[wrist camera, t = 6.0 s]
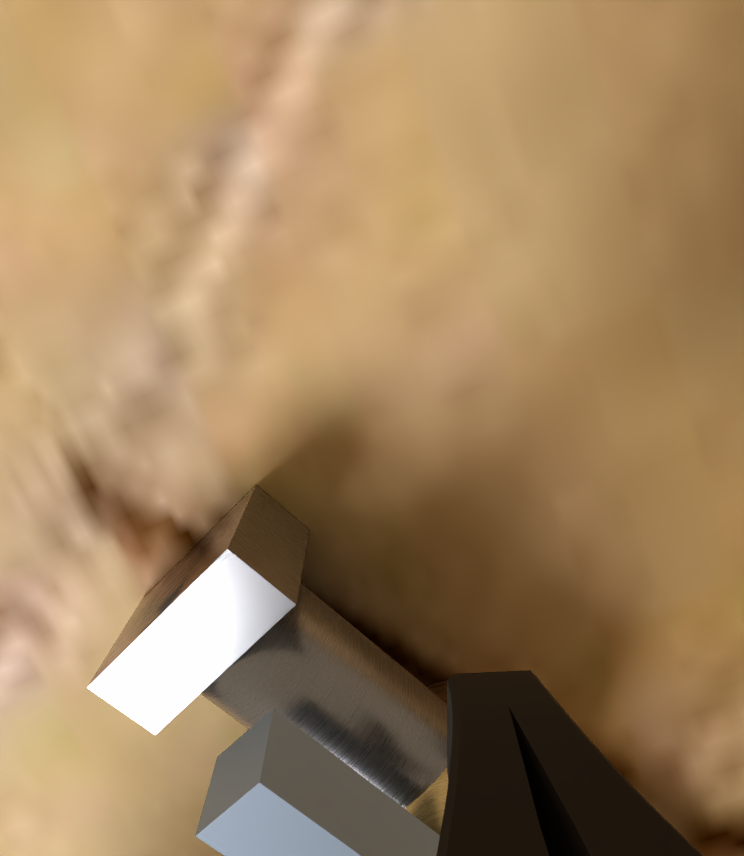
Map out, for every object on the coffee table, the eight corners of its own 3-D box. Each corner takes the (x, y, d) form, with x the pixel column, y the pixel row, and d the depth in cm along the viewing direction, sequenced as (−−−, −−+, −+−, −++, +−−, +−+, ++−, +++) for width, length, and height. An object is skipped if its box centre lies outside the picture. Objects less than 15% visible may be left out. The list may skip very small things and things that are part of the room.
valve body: (733, 875, 21) (831, 1039, 16) (602, 961, 22) (661, 1135, 18) (267, 472, 16) (233, 554, 12) (131, 609, 17) (55, 730, 13)
